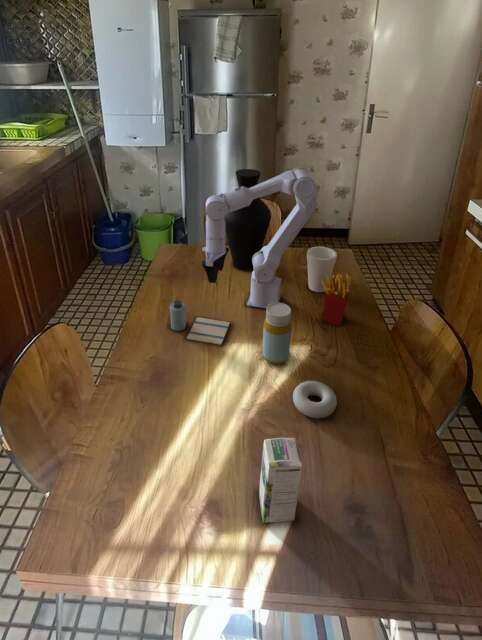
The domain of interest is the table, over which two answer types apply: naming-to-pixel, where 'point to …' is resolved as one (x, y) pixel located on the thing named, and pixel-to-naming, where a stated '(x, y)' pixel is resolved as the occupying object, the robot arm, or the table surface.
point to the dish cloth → (208, 330)
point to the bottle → (276, 333)
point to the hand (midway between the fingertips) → (215, 275)
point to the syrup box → (279, 479)
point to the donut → (314, 408)
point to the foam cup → (319, 267)
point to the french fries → (335, 298)
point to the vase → (247, 224)
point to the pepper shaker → (178, 315)
